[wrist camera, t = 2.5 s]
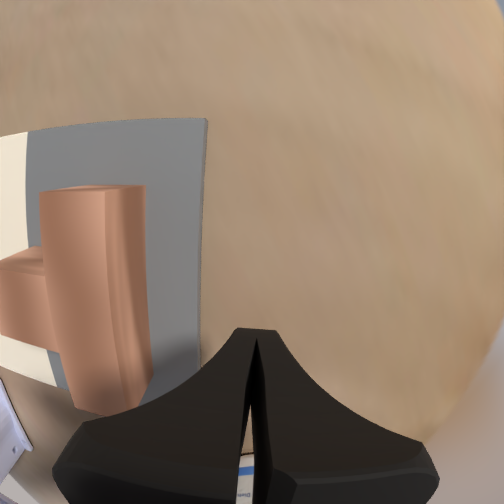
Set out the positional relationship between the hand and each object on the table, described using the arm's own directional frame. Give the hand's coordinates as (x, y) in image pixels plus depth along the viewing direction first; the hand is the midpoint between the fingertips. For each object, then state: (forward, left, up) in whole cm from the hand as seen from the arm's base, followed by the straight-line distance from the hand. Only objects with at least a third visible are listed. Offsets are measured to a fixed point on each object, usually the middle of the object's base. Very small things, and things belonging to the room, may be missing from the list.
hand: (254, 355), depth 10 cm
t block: (0, +9, -5) cm, 10 cm away
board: (0, +13, -5) cm, 14 cm away
